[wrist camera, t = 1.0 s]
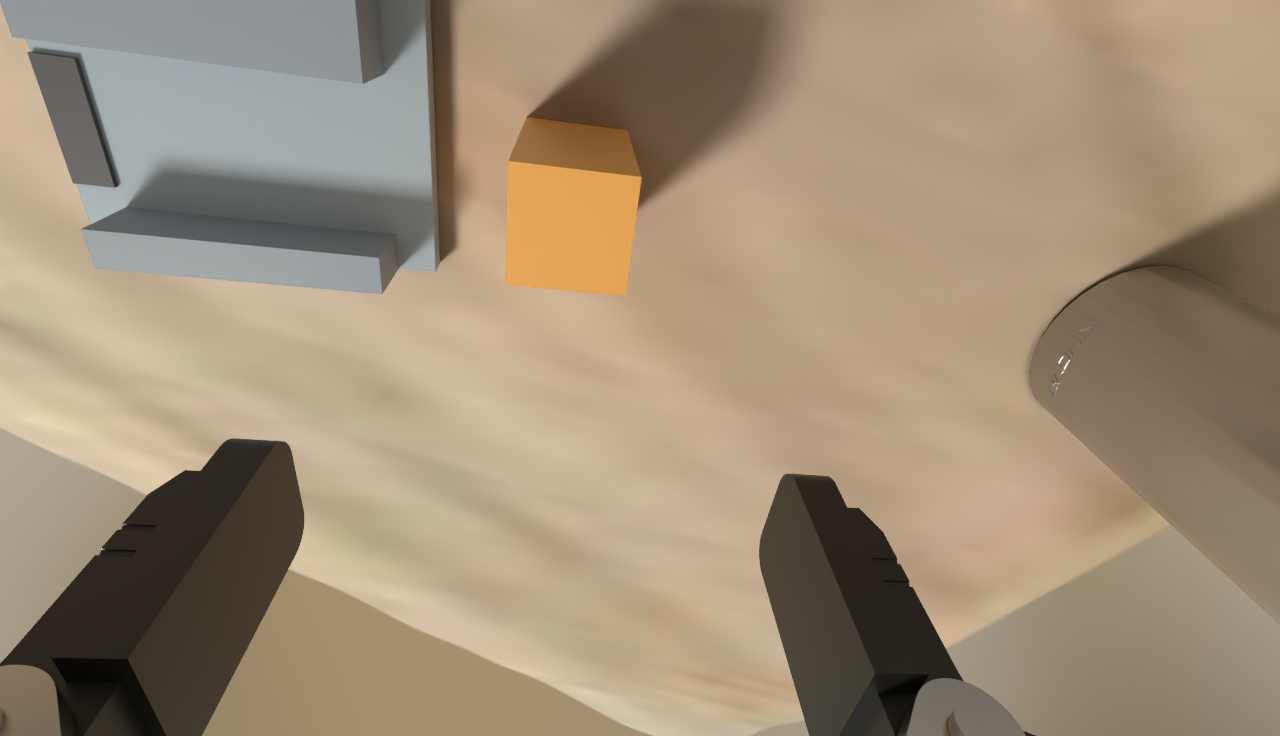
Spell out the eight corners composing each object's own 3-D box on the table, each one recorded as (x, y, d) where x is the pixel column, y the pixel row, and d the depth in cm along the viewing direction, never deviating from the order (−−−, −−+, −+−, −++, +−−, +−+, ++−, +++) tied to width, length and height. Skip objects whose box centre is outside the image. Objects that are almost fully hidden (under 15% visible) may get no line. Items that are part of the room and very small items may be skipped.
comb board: (418, -326, 17) (385, -389, 14) (440, 262, 27) (422, 297, 24) (-112, -447, 15) (-275, -548, 12) (112, 231, 25) (48, 264, 22)
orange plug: (627, 130, 24) (641, 177, 18) (615, 226, 26) (625, 295, 21) (526, 117, 24) (508, 160, 18) (523, 216, 26) (504, 284, 20)
